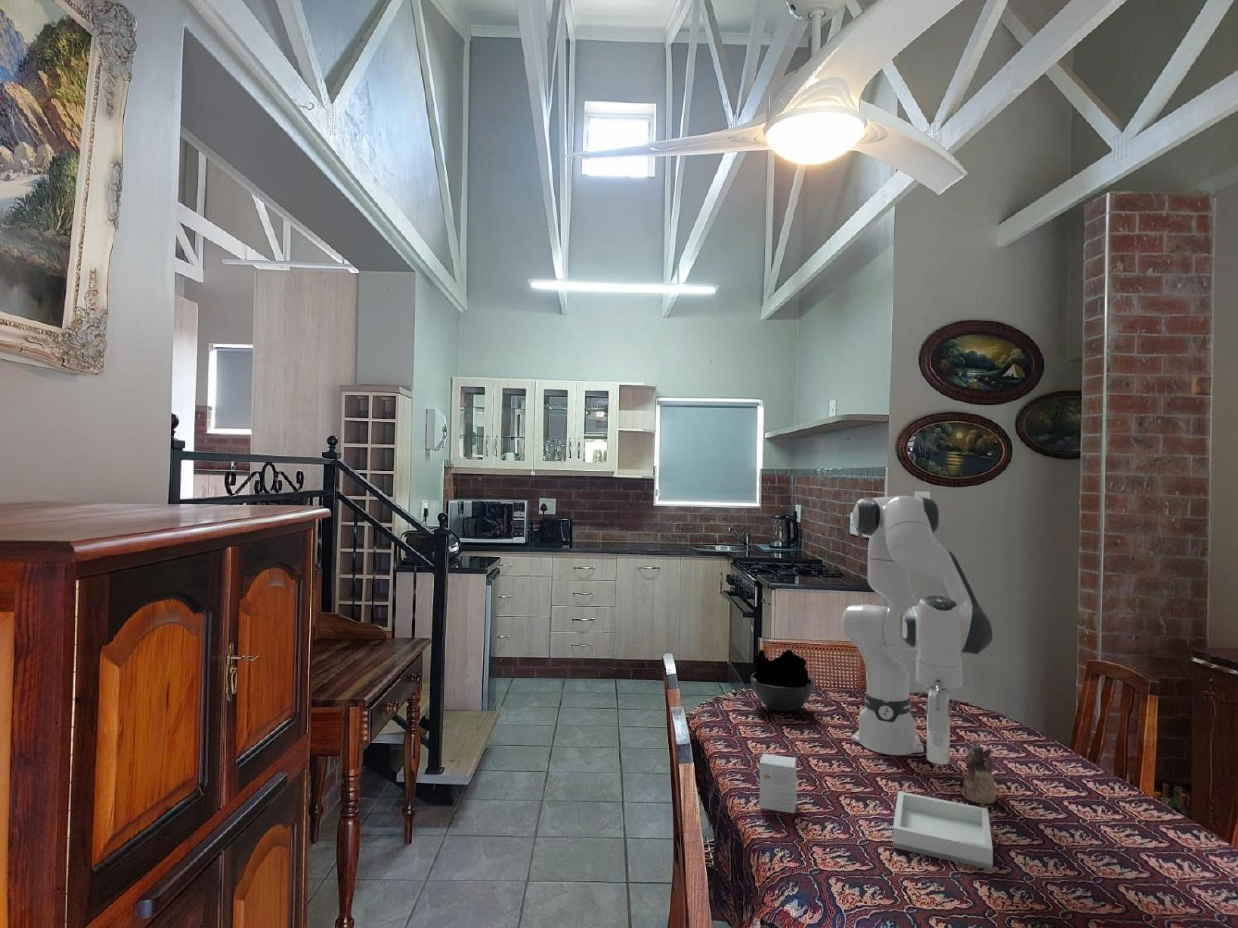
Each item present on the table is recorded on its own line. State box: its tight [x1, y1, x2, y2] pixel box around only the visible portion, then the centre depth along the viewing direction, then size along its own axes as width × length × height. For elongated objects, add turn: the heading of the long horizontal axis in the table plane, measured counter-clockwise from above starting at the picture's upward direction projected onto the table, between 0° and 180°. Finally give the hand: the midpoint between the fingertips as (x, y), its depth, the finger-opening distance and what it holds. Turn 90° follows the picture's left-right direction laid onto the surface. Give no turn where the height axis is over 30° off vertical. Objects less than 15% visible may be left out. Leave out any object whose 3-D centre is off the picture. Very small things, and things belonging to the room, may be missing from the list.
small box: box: [759, 753, 798, 814], centre depth 157 cm, size 8×6×10 cm
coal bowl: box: [750, 649, 815, 712], centre depth 221 cm, size 20×20×19 cm
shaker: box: [925, 701, 952, 765], centre depth 145 cm, size 5×5×12 cm
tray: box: [892, 790, 994, 871], centre depth 144 cm, size 18×18×4 cm
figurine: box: [961, 745, 997, 805], centre depth 162 cm, size 7×7×12 cm
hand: (938, 740), depth 145 cm, fingers closed on shaker, 4 cm apart
